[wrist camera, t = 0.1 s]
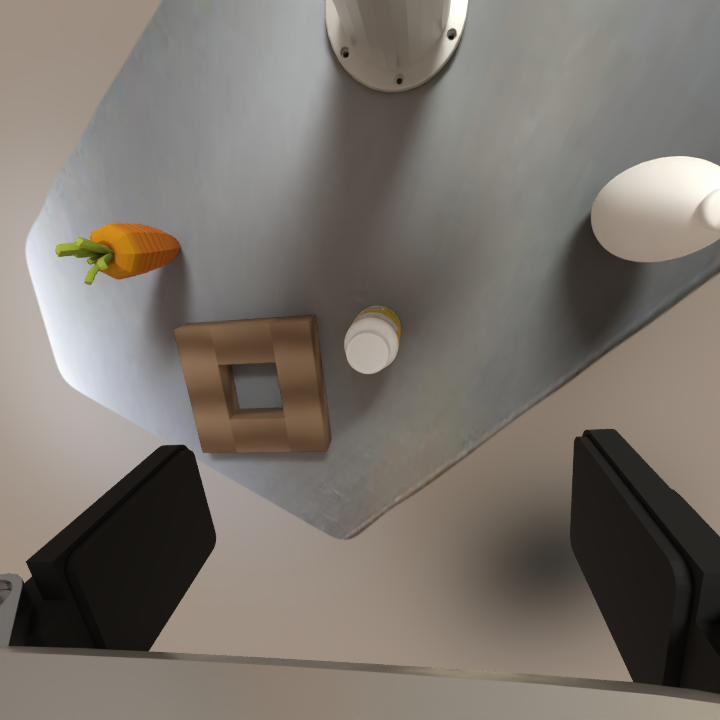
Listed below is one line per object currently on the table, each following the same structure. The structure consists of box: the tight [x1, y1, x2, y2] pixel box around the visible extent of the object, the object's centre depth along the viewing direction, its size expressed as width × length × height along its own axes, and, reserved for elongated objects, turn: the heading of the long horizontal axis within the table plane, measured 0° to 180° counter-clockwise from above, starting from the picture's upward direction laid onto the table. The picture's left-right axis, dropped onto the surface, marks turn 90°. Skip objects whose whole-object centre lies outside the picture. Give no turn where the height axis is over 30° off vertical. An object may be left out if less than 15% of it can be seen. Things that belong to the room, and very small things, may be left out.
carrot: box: [55, 223, 180, 285], centre depth 40 cm, size 5×5×15 cm
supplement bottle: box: [344, 306, 401, 374], centre depth 42 cm, size 5×5×10 cm
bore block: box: [173, 315, 332, 453], centre depth 49 cm, size 16×16×3 cm
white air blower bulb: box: [591, 156, 720, 262], centre depth 31 cm, size 8×8×18 cm
